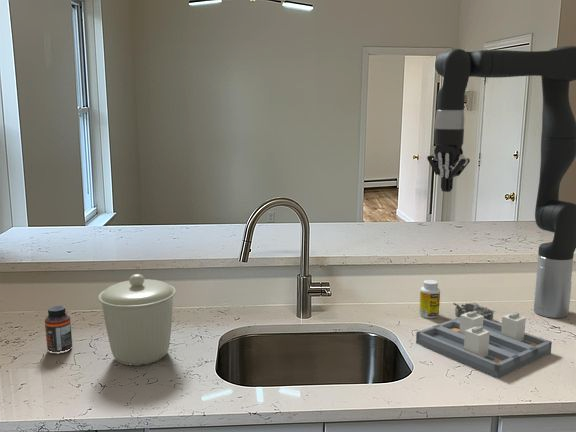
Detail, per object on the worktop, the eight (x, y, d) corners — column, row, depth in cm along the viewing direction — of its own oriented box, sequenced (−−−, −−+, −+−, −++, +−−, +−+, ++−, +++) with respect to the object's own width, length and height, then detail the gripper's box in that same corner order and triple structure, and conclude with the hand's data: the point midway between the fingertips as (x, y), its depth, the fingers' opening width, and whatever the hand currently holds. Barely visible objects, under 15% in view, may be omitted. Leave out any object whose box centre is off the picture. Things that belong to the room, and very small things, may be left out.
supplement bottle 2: (429, 320, 165) (431, 286, 163) (415, 314, 169) (416, 281, 167) (443, 316, 168) (444, 282, 166) (428, 310, 172) (430, 277, 170)
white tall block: (469, 333, 151) (470, 308, 150) (482, 338, 148) (483, 313, 147) (459, 337, 149) (460, 311, 148) (472, 342, 146) (473, 316, 145)
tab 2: (473, 349, 142) (475, 323, 140) (488, 355, 138) (489, 328, 137) (463, 353, 139) (465, 327, 138) (477, 359, 136) (479, 332, 135)
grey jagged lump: (450, 315, 169) (451, 302, 168) (470, 311, 172) (471, 298, 172) (477, 327, 160) (478, 313, 159) (497, 323, 163) (498, 309, 162)
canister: (129, 381, 130) (123, 291, 126) (88, 358, 142) (82, 275, 138) (193, 355, 143) (190, 273, 139) (151, 335, 155) (147, 259, 151)
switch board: (469, 323, 162) (470, 313, 162) (550, 353, 143) (551, 341, 143) (416, 343, 149) (416, 332, 149) (497, 378, 130) (498, 365, 130)
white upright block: (509, 335, 150) (511, 310, 149) (523, 340, 147) (525, 314, 146) (500, 338, 148) (502, 313, 147) (514, 343, 145) (516, 318, 143)
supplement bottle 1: (43, 350, 146) (39, 308, 144) (65, 343, 151) (62, 301, 148) (54, 357, 142) (50, 313, 140) (77, 349, 147) (73, 307, 144)
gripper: (479, 127, 152) (475, 193, 155) (438, 126, 162) (436, 187, 165) (461, 128, 147) (457, 195, 151) (420, 126, 158) (418, 189, 161)
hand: (446, 191), depth 158 cm, fingers closed
